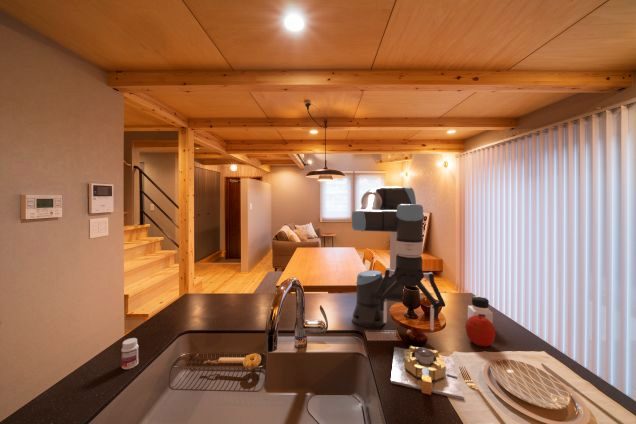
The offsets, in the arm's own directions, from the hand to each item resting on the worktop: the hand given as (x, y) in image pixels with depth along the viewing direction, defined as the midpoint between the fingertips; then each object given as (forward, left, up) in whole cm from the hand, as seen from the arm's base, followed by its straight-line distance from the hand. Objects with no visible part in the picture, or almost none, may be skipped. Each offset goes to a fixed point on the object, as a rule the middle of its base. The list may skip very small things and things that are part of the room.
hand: (407, 324), depth 78 cm
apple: (+27, +35, -19) cm, 49 cm away
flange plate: (+5, +9, -19) cm, 22 cm away
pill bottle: (-89, -23, -19) cm, 93 cm away
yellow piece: (+5, +6, -17) cm, 19 cm away
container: (+31, +53, -19) cm, 65 cm away
